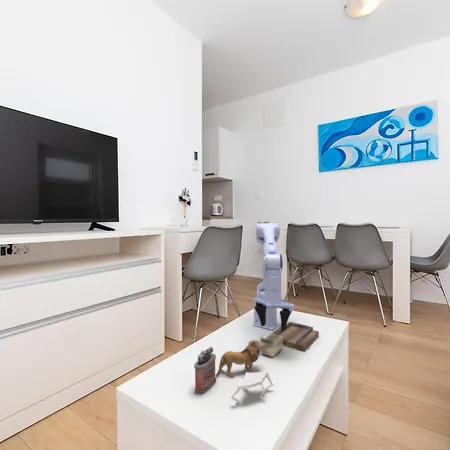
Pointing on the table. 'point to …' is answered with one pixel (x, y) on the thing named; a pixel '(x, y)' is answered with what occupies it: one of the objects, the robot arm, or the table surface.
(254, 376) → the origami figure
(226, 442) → the table surface
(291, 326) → the dock
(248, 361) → the lion figurine
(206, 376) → the lighter
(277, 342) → the beige lidded box
